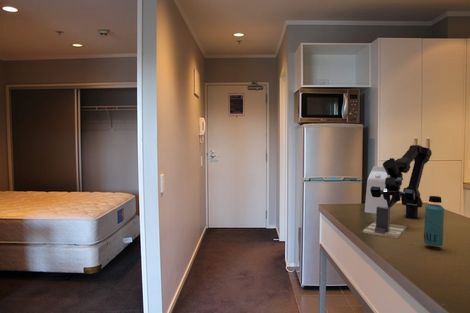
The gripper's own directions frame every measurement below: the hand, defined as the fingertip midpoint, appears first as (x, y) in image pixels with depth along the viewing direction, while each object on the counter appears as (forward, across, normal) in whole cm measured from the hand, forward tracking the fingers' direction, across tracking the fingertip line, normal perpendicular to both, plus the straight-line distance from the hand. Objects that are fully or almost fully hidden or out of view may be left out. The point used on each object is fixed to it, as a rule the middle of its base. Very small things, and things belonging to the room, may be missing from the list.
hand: (388, 207), depth 150 cm
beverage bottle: (+20, +20, -6) cm, 29 cm away
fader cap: (+13, 0, -1) cm, 13 cm away
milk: (-17, -13, +32) cm, 38 cm away
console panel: (+10, 0, +3) cm, 11 cm away
